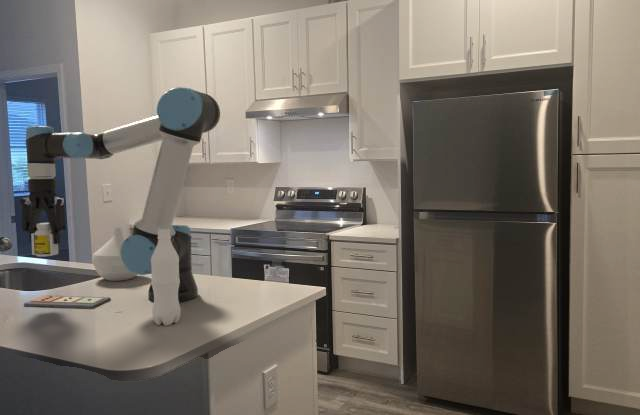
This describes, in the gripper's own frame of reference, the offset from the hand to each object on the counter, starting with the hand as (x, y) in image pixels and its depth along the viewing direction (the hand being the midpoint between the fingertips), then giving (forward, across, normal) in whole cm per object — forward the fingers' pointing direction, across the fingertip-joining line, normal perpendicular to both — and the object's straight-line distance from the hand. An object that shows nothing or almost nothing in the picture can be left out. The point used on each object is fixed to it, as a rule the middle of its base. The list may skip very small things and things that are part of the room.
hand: (45, 254), depth 163 cm
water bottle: (+15, -46, +16) cm, 51 cm away
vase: (+15, -4, -36) cm, 39 cm away
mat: (+15, -7, 0) cm, 16 cm away
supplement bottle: (+1, 0, 0) cm, 1 cm away
